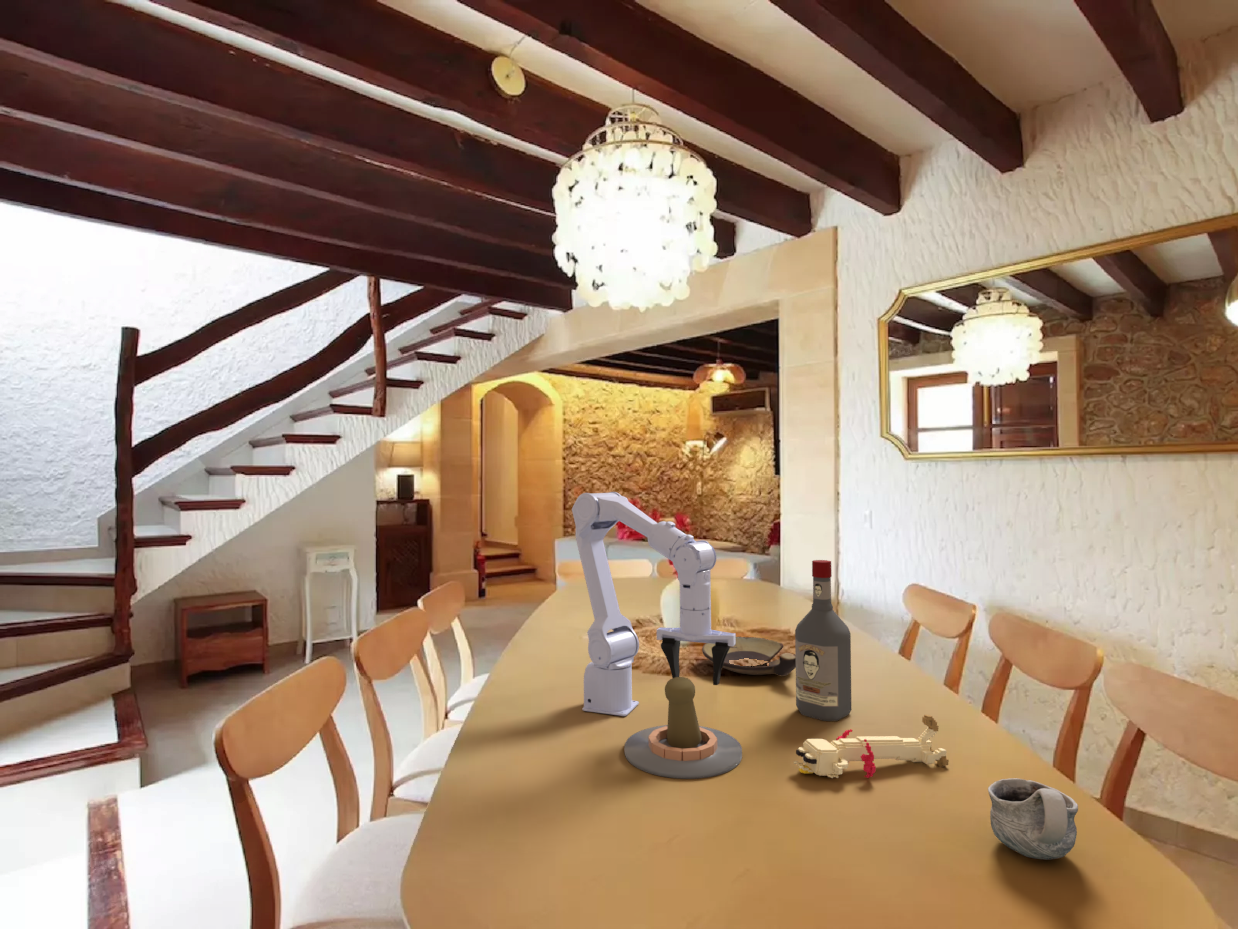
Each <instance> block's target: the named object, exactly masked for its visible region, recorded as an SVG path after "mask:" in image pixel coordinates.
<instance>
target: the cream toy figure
mask: <svg viewBox="0 0 1238 929" xmlns="http://www.w3.org/2000/svg"><path fill="white" fill-rule="evenodd" d="M921 718H922V720H921V722H922V723H923V725H925V726H926V729H924V731H923V732H921V734H920V735H919V736H918V737H917V738H914V737H901V736H897V735H890V736H889V735H887V736H886V735H884V736H880V735H879V736H875V735H873V736H872V735H871V736H868V735H867V736H855V737H854V738H849V737H848V736H849V735H850V733H853V729H845V731H844V732H842V735H840V736H839V735H837V737H836V739H835V740H832V741H830V742H829V741H828V740H827V739H823V738H807V739H805V740H804V742H803V743H802V746H800V747H798V748H797V749H796V750H795V754H796V756H798V757H802V758H801V759H802V762H799V761H798V760H794V761H793V764H795V765H797V766H798V772H800V773H802V774H804V775H805V774H813V773H814V774H815V775H817V776H819V777H821V776H827V778H831V779H833V778H836V779H839V775H842V774H843V769H848V768H849V763H850V762H863V763H864V764H863V768H862V769H863V771H864V772H865V773H866V775H863V776H864V778H866V779H870V778H872V777H873V776H874V774H875V773H876V771H877V770H876V767H877V766H876V763H874V760H886V759H887V760H889V759H894V760H896V761H910V762H913V763H924V764H925V765H932V764H934V763H935V761H936V765H937V766H938V767H941V768H942V767H946V766H949V758H947V749H945V748H942V747H939V748H937V749H935V750H933V749H932V747H933V746H932V743H933V742H932V741H931V740H930V738H933V737H934V736H935V735H936V734H937V733H938V732H939V726H940V725H938V721H936V719H935V718H934V717H933V715H930V714H924V715H923V716H922V717H921Z"/></svg>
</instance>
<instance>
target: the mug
mask: <svg viewBox="0 0 1238 929" xmlns="http://www.w3.org/2000/svg"><path fill="white" fill-rule="evenodd" d="M987 792H988V795H989V798H990V801H991V808H990V815H989V817H990V825H991V826H990V828H991V830H992V832H993V834H994V836H995V837H996V838H997V839H998V840H999V841H1000V842H1001V843H1002V844H1003V845H1005V846H1006V847H1007V848H1009V849H1010V850H1013V851H1014V852H1016V853H1018V854H1020V855H1021V856H1024V857H1027V858H1030V859H1031V858H1032V859H1038V860H1048V861H1050V860H1055V859H1061V858H1063V857H1065V856H1066V855H1067V854H1069V853H1070V852H1071V851H1072V849H1073V848H1074V847H1075V844H1076V841H1077V840H1076V839H1077V833H1078V831H1077V830H1078V829H1077V825H1076V823H1075V817H1076V815H1077V813H1078V812H1079V804H1078V803H1077V802H1076V801H1075V799H1073V798H1072V797H1071V796H1069V795H1067V794H1066V793H1063V792H1062V791H1060V790H1059V789H1057V788H1054V787H1051V786H1049V785H1046V784H1044V783H1042V782H1038V781H1036V780H1035V781H1034V780H1031V779H1028V780H1027V779H1025V778H1024V779H1023V778H1016V777H1015V778H1001V779H999V780H996V781H994V782H993V783H991V784H990V785H988V788H987Z"/></svg>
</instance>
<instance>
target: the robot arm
mask: <svg viewBox="0 0 1238 929" xmlns="http://www.w3.org/2000/svg"><path fill="white" fill-rule="evenodd" d="M571 512H572V517H573V520H574V524H575V541H576V545H577V550H578V554H579V558H580V561H581V566H582V570H583V571H582V572H583V575H584V579H585V580H584V581H585V583H586V588H587V592H588V596H589V601H590V605H591V610H592V614H593V619H594V621H593V622H592V624H591V625H590V626H589V628H588V630H587V632H586V633H587V638H588V647H587V651H588V655H589V658H590V660H591V662H589V663H587V665H586V667H585V669H584V674H583V707H582V711H584V712H592V713H596V714H597V713H598V714H605V715H614V716H622V717H626V716H628V715H629V714H630V713H631V712H632V711H633V710H634V709H635V708H636V707H637V706H638V705H639V704H640V702H639V700H638V701H637V700H633V687H632V686H633V681H632V680H633V676H632V675H633V674H632V671H633V670H632V669H633V668H632V666H633V665H632V663H634V660H635V659H634V657H635V656H636V655H637V654H638V652H639V648H640V640H639V637H638V635H637V633H636V632H635V630H634V629H633V625H632V622H631V620H630V619H628V618H627V617H626V616H624V615H623V614H622V613H621V610H620V605H619V602H618V597H617V592H616V589H615V585H614V582H613V580H614V579H613V576H612V573H611V568H610V565H609V560H608V559H609V558H608V555H607V553H606V548H605V544H604V539H605V537H606V536H607V534H608V532H609V531H610V530H611V529H612V528H614V527H615V525H617V523H618V522H621V523H622V524H624V525H625V526H627V527H629V528H630V529H632V530H634V531H636V532H637V533H639V534H641V535H642V536H644V537H645V538H647V543H648V546H649V547H650V548H652V549H653V550H655V551H656V552H657V553H659V554H661V555H662V556H664V558H666V559H668V560H669V561H671V562H672V565H673V567H674V569H675V571H676V572H677V581H678V582H679V627H658V628H657V629H656V640H658V641H661V643H660V649H661V650H662V653H663V654H664V656H665V659H666V660H667V664H668V666H669V670H670V673H671V679H672V678H675V677H680V674H681V673H680V672H681V671H680V649H681V642H693V643H701V644H702V643H703V644H706V643H712V644H715V646H713V647H712V656H713V662H712V666H713V669H712V670H713V671H712V672H713V673H712V684H713V686H718V685H719V684H720V682H721V674H722V669H723V663H724V660H725V658H726V655H727V653H728V651H729V649H730V646H734V645H735V644H736V637H737V635H736V632H735V633H734V632H726V631H720V630H714V629H712V601H711V600H712V598H711V596H712V593H711V592H712V591H711V589H712V585H711V583H712V582H711V579H712V578H711V575H712V574H711V571H712V570H713V569H714V567H715V566H716V563H717V553H716V550H715V547H714V546H713V545H711V544H710V543H709V541H708V540H704V539H703V540H702V539H701V540H695V539H694V536H693V535H692V534H686V533H684V532H683V531H682V530H680V529H678V528H677V527H676V523H675V522H673V521H671V520H670V521H669V520H668V521H665V520H664V521H662V520H661V521H659V522H657V521H655V520H654V519H653V518H651V517H650V516H649V515H648V514H646V513H644V512H643V511H642V510H641V509H639V508H638V507H636V506H635V505H634V504H633V503H631V502H630V501H629V499H628V498H627V497H626V496H624V495H621V494H620V493H619V492H616V491H609V492H598V493H597V492H595V493H594V492H593V493H590V492H583V493H581V494H580V495H578V497H577V498H576V500H575V502H574V504H573V506H572V508H571ZM610 630H612V631H610Z"/></svg>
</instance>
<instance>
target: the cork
mask: <svg viewBox="0 0 1238 929" xmlns="http://www.w3.org/2000/svg"><path fill="white" fill-rule="evenodd" d="M664 695H665V698H666V700H667V701H668V712H667V725H668V727H667V742H668V743H669V745H671V746H672V747H674V748H681V749H685V748H693V747H695V746H697V745H698V744H699V743H700V742H701V739H702V738H701V732H700V728H699V726H700V725H699V724H700V723H699V720H698V715H697V712H696V707H695V703H694V698H695V696H696V687H695V684H694V682H693V681H692V680H691V679H690V678H688V677H684V676H679V677H675V678H672V677H671V678H670V679H669V680H668V681H667V682H666V683H665V686H664Z"/></svg>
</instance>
